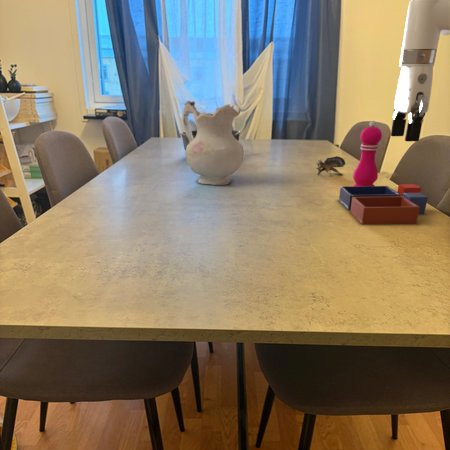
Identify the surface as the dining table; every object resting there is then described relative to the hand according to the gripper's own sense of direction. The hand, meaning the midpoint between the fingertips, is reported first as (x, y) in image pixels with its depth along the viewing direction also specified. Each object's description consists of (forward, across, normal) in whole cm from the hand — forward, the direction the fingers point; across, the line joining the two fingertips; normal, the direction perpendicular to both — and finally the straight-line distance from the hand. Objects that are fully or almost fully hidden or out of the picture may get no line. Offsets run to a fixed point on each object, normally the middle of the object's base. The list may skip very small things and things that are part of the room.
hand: (404, 138), depth 107 cm
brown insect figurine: (+18, +44, +7) cm, 48 cm away
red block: (+18, +7, -6) cm, 20 cm away
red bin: (+18, -8, +5) cm, 20 cm away
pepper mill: (+18, +20, +2) cm, 27 cm away
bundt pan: (+18, +88, +51) cm, 103 cm away
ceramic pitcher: (+18, +36, +49) cm, 63 cm away
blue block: (+18, -3, -4) cm, 18 cm away
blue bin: (+18, +4, +6) cm, 19 cm away
